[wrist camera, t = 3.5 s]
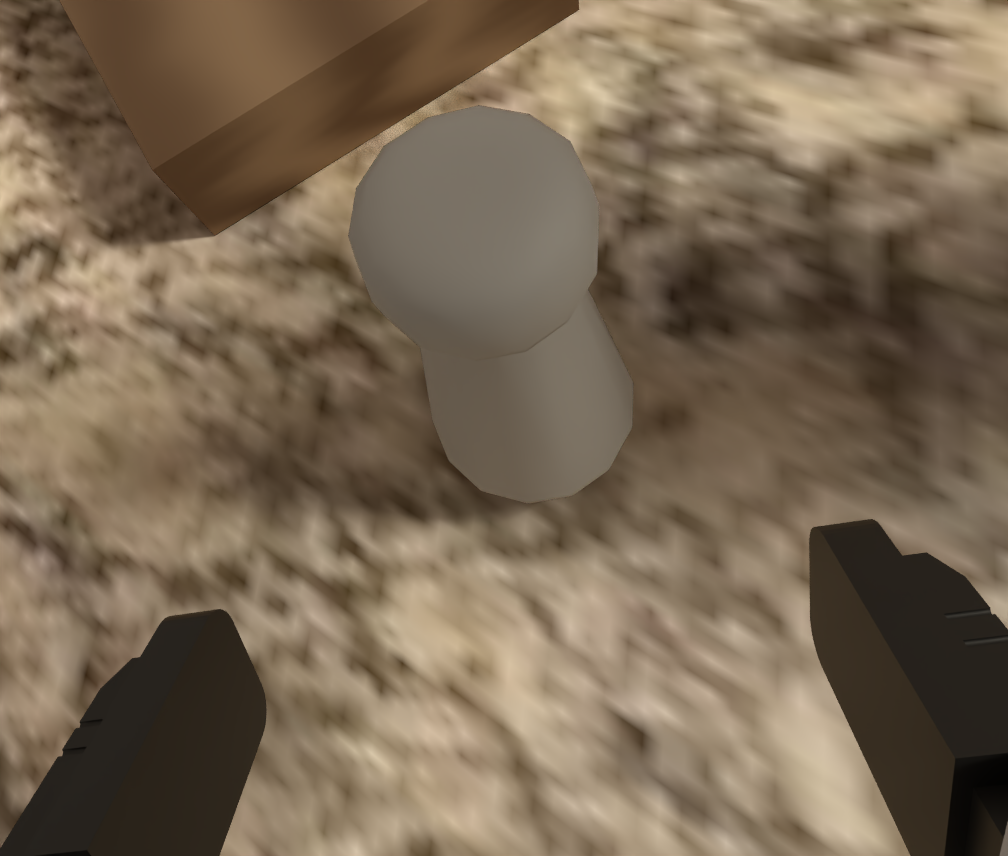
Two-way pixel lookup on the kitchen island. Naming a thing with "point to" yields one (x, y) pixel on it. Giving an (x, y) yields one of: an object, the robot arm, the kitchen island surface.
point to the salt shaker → (498, 297)
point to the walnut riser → (283, 80)
